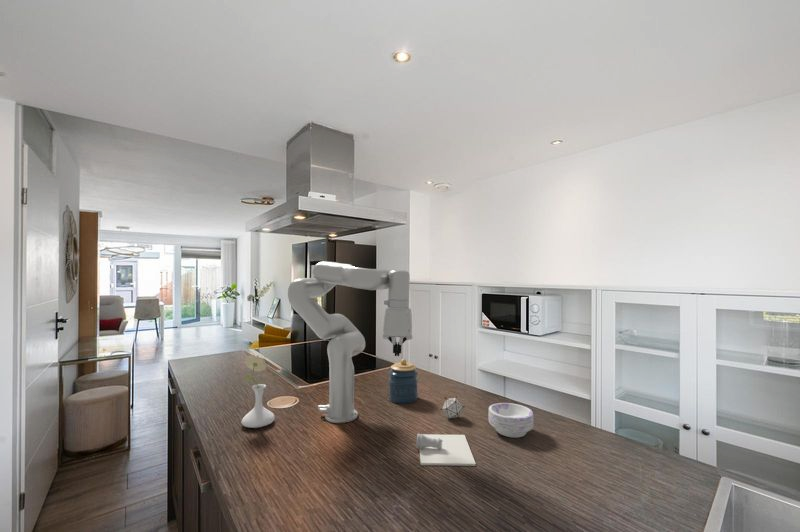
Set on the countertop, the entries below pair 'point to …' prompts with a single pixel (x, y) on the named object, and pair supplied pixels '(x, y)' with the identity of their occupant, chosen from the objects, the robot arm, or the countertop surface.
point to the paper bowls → (511, 419)
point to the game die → (452, 407)
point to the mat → (448, 451)
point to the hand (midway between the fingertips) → (397, 355)
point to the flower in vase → (257, 397)
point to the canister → (403, 382)
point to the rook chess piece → (428, 442)
